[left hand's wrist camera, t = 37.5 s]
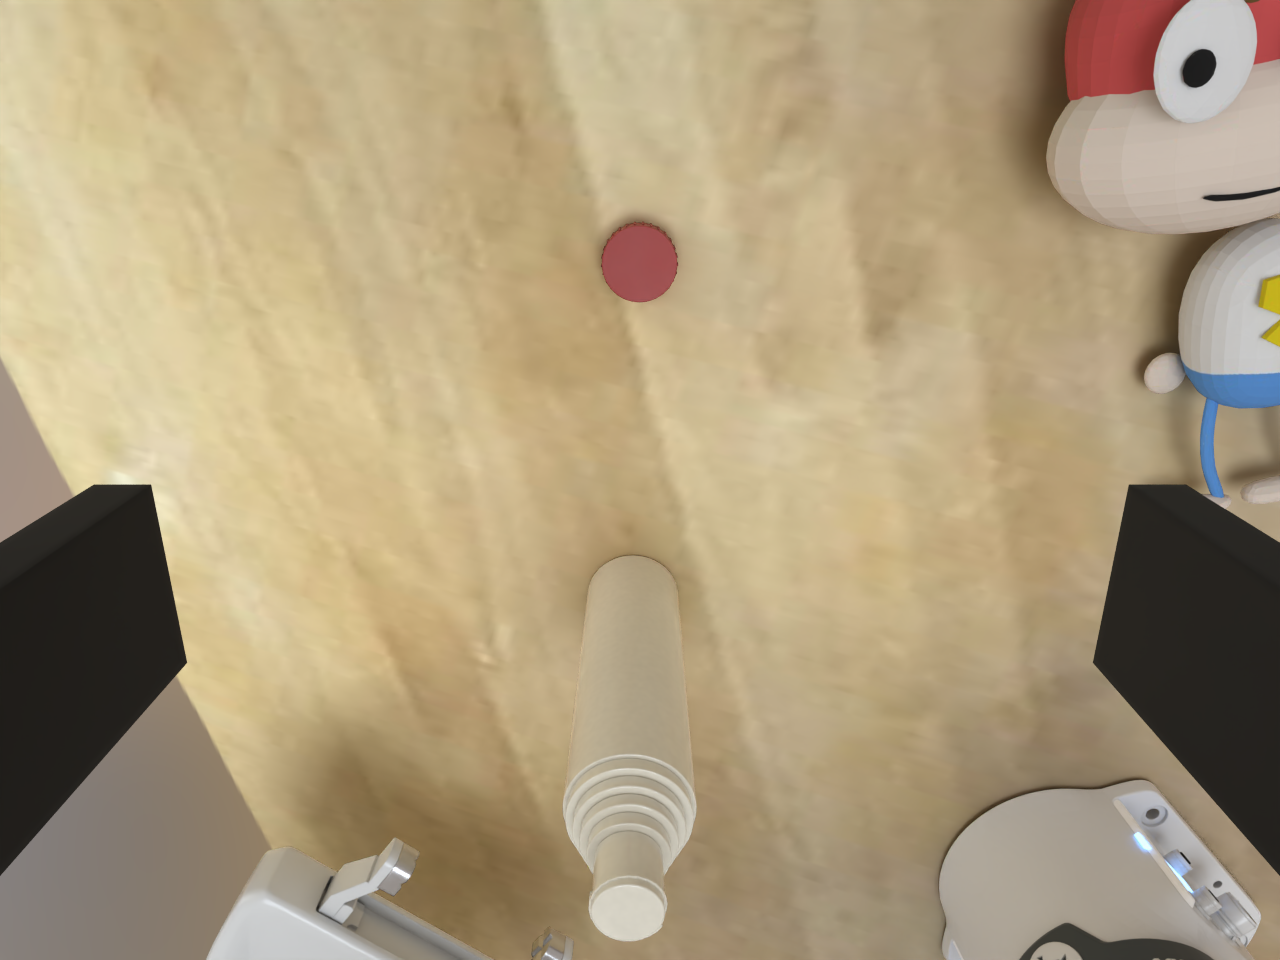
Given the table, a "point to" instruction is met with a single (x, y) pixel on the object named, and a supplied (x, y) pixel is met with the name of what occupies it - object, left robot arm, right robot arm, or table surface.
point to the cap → (639, 262)
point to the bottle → (630, 746)
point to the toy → (1187, 178)
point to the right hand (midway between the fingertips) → (485, 899)
